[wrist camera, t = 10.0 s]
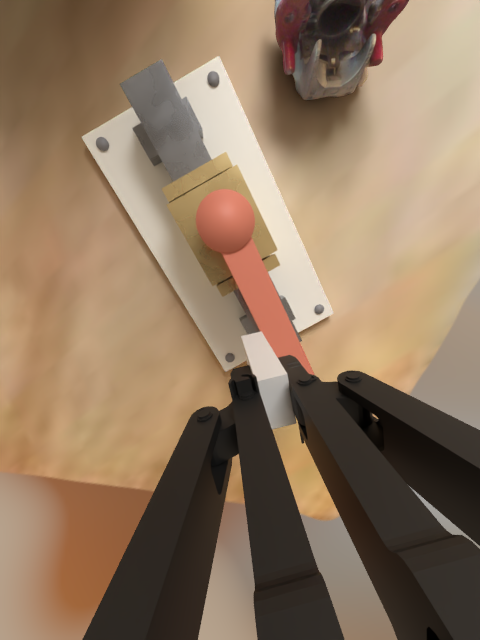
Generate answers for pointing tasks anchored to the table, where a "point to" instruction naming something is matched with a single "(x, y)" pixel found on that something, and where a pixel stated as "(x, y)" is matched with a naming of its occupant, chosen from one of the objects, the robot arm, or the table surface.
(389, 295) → the table surface
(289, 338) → the lever
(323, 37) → the brake caliper
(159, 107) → the pipe valve
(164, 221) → the mount board
